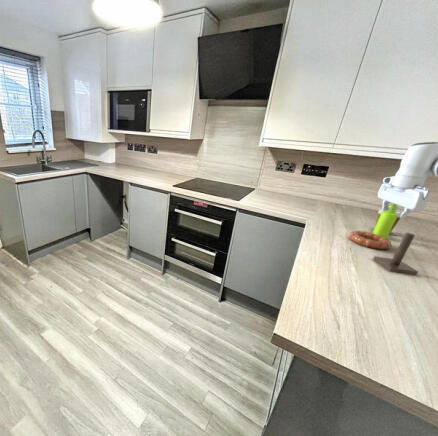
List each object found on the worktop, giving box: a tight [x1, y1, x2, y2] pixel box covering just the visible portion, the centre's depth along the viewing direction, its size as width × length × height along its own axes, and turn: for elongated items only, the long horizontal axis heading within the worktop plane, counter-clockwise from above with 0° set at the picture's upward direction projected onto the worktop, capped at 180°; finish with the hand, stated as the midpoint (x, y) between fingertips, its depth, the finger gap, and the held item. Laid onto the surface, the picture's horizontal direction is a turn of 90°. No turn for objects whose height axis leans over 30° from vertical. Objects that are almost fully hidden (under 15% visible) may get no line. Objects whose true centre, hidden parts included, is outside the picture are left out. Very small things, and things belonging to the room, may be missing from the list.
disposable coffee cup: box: [374, 208, 402, 235], centre depth 127 cm, size 10×10×12 cm
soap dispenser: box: [372, 203, 398, 239], centre depth 119 cm, size 6×7×20 cm
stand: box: [372, 232, 419, 276], centre depth 91 cm, size 9×9×14 cm
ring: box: [348, 230, 393, 250], centre depth 113 cm, size 15×15×4 cm
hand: (392, 214), depth 102 cm, fingers open, 8 cm apart
